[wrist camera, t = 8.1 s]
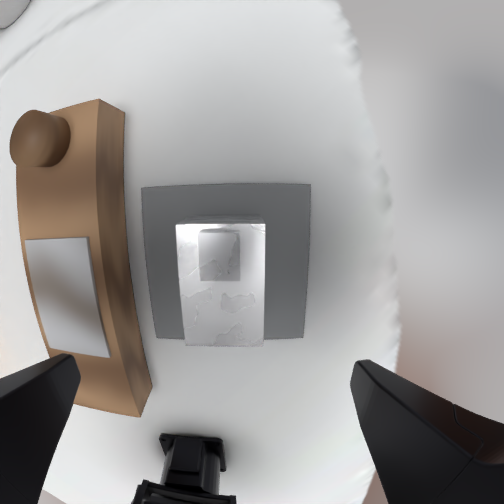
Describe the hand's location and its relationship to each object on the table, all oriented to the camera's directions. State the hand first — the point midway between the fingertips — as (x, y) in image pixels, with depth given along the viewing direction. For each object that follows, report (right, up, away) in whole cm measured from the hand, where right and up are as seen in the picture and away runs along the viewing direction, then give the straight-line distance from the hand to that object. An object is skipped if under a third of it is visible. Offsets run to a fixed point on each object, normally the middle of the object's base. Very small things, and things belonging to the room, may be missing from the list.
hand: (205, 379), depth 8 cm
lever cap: (0, +3, +11) cm, 11 cm away
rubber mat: (0, +3, +11) cm, 12 cm away
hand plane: (-11, +3, +11) cm, 16 cm away
